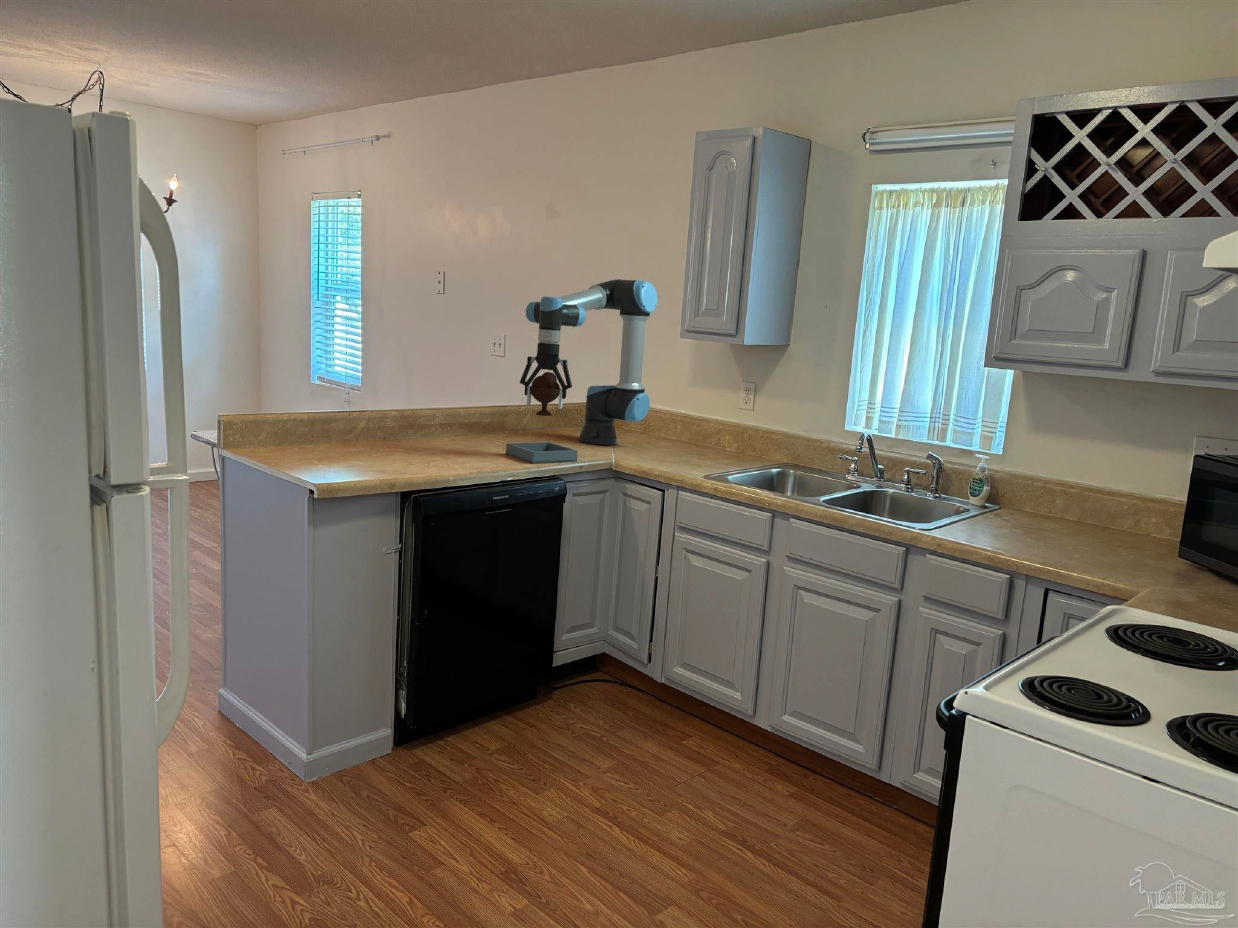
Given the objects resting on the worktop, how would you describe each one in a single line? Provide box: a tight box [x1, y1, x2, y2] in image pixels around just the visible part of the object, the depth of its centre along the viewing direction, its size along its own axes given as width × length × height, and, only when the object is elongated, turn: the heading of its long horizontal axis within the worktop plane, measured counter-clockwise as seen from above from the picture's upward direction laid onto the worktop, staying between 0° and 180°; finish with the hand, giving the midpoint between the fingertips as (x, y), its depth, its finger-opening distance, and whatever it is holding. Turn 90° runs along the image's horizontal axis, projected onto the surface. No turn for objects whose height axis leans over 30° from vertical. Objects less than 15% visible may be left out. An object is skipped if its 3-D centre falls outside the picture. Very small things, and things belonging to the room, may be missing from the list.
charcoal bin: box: [505, 441, 579, 465], centre depth 307 cm, size 18×18×4 cm
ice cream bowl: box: [529, 371, 562, 417], centre depth 304 cm, size 11×11×15 cm
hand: (544, 406), depth 305 cm, fingers closed on ice cream bowl, 11 cm apart
